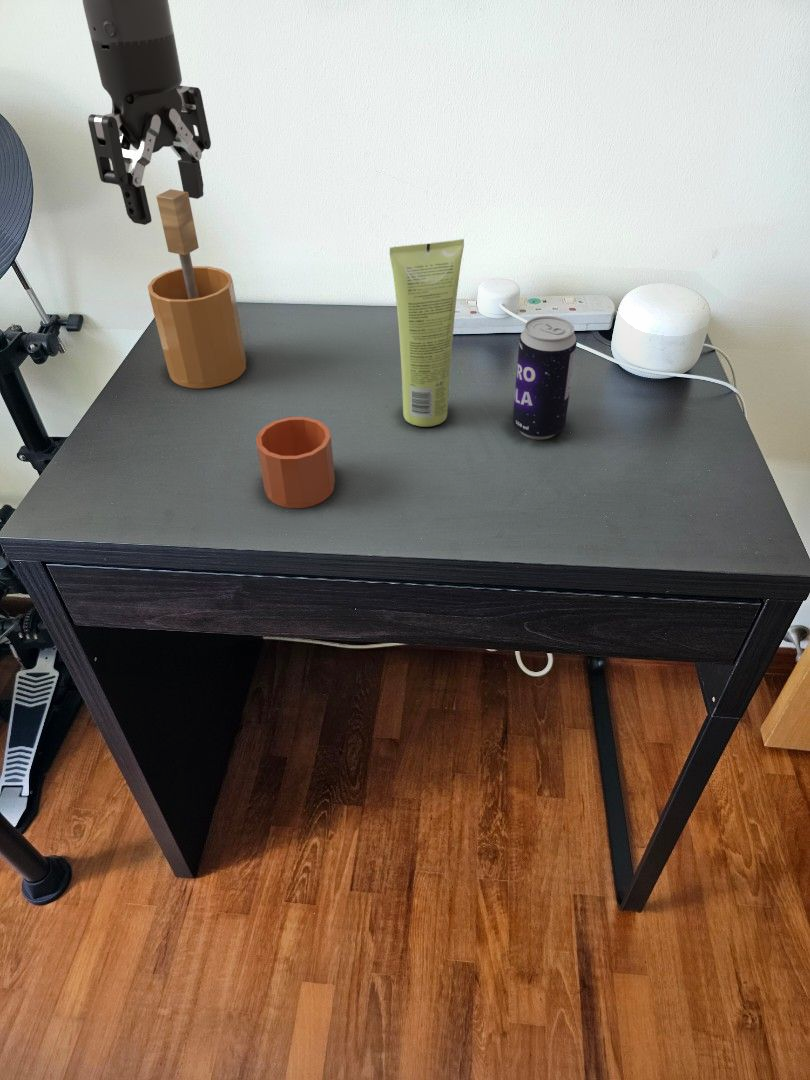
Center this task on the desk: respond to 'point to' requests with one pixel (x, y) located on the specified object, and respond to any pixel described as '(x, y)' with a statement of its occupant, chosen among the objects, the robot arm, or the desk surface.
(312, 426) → the cup
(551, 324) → the beverage can
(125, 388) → the desk surface
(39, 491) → the desk surface
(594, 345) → the desk surface
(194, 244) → the brush
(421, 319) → the tube
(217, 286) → the orange pen cup
